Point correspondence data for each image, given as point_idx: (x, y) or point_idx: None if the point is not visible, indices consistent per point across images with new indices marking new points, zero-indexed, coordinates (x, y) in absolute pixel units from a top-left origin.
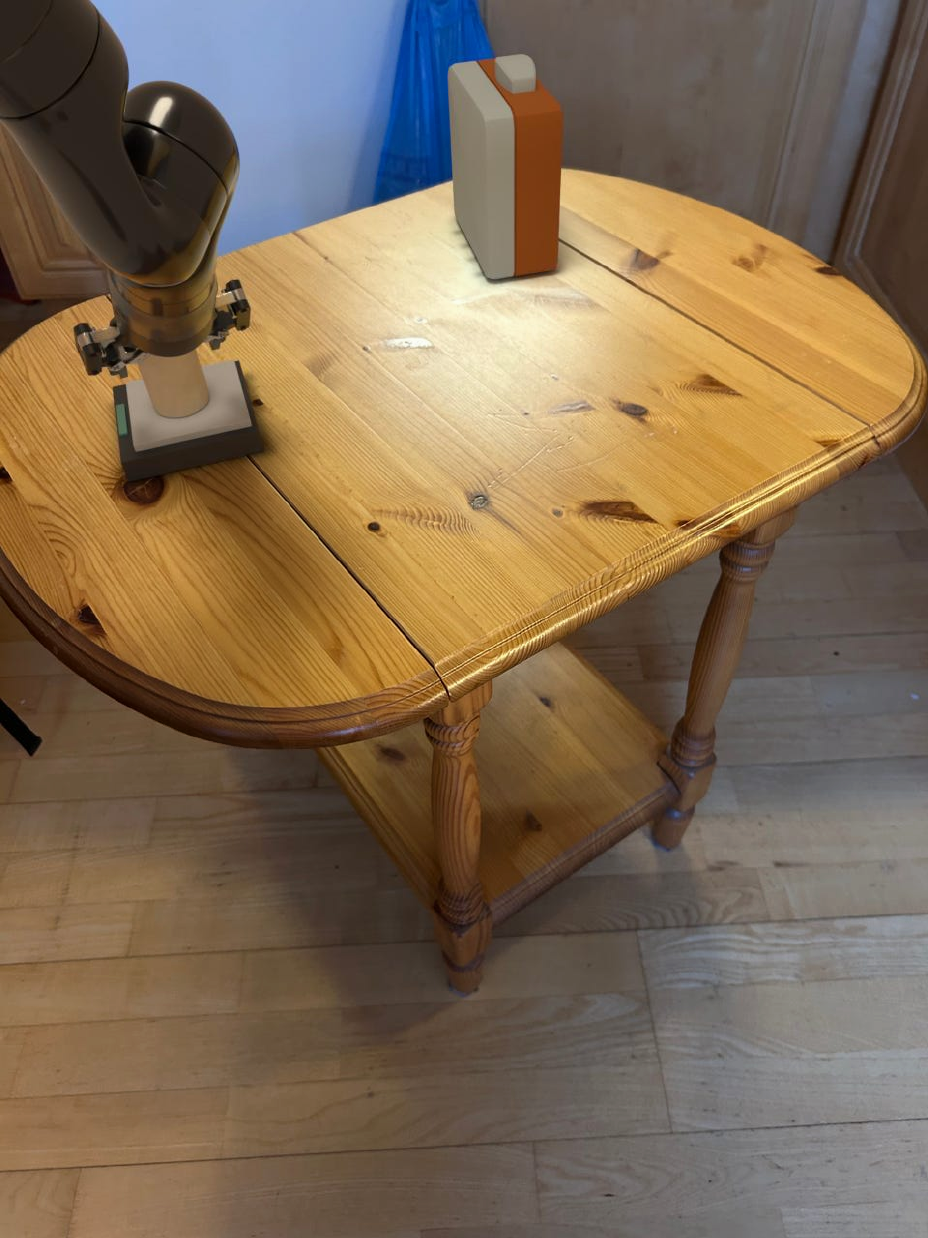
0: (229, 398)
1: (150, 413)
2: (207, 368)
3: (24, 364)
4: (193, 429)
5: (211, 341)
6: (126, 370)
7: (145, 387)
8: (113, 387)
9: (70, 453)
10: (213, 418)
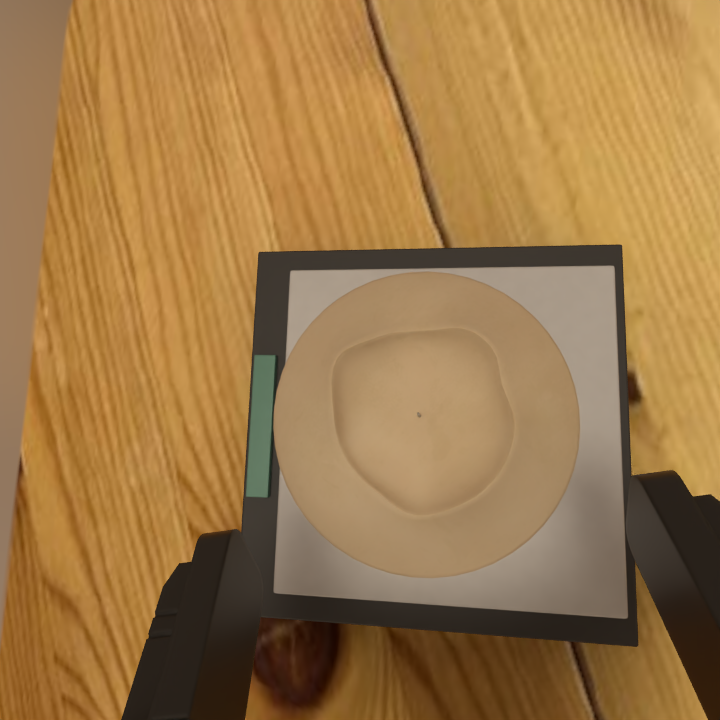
0: (575, 474)
1: None
2: (527, 287)
3: (94, 30)
4: (447, 592)
5: (668, 618)
6: (245, 704)
7: None
8: (260, 258)
9: (147, 419)
10: (513, 561)
